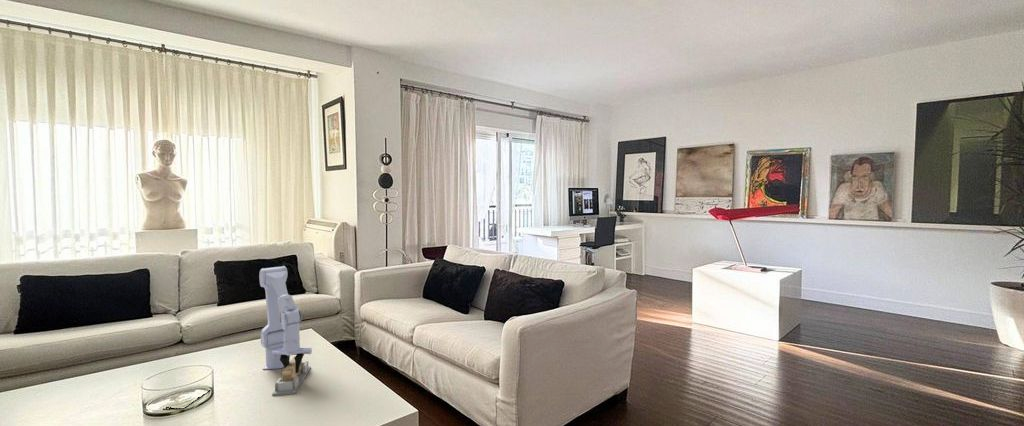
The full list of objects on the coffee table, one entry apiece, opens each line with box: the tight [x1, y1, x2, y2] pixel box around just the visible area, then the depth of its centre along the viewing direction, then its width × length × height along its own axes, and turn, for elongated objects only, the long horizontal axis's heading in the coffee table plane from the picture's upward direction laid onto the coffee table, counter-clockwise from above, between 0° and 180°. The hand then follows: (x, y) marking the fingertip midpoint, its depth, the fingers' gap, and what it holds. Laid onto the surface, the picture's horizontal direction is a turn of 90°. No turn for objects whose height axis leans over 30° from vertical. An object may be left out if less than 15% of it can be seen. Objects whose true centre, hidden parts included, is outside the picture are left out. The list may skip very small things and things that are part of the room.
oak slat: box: [281, 356, 303, 382], centre depth 174 cm, size 16×3×6 cm, turn 12°
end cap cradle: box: [271, 361, 312, 397], centre depth 174 cm, size 24×8×4 cm, turn 12°
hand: (292, 372), depth 174 cm, fingers closed on oak slat, 3 cm apart
